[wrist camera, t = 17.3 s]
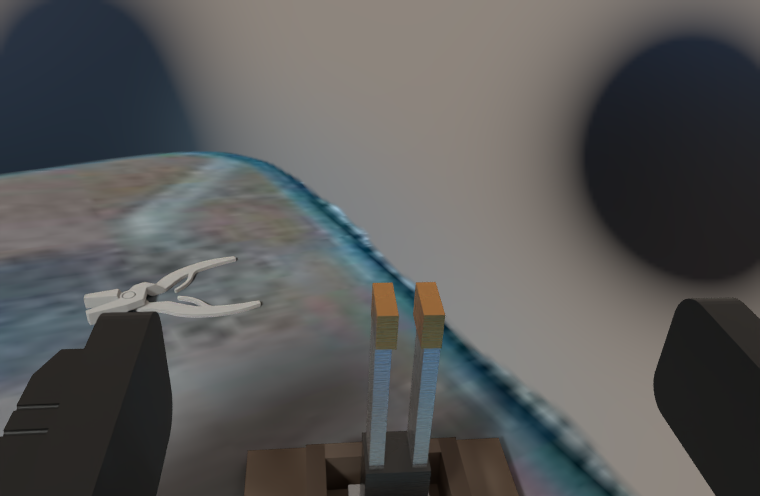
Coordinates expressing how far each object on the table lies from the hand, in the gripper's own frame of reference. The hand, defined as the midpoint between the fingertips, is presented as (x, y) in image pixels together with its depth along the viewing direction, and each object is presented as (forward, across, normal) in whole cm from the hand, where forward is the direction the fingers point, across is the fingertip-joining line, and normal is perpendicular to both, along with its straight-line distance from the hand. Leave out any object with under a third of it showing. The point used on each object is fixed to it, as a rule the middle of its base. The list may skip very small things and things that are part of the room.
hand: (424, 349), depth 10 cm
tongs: (+18, -3, +29) cm, 34 cm away
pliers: (+46, +15, +31) cm, 57 cm away
